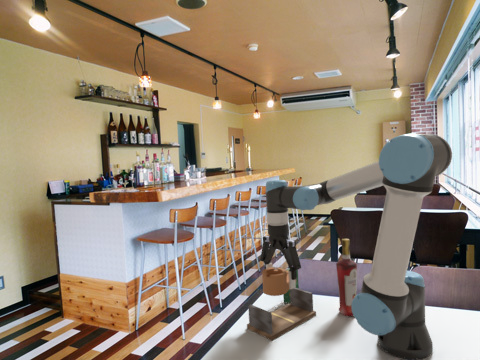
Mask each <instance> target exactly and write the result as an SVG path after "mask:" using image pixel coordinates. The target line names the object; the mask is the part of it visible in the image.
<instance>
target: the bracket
mask: <svg viewBox="0 0 480 360" xmlns="http://www.w3.org/2000/svg"><path fill="white" fill-rule="evenodd" d="M261 276H262V277H261V278H262V279H261V280H262V292H263V294H265V295H267V296H271V297H278V296H283V294H285V293H287V292H288V290H289V277H288V271H287V269H285V268H282V267H278V268H277V269H276V267H273V268H267V269H265V268H264V269H263V270H262V271H261ZM295 282H296V279H295Z"/></svg>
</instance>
